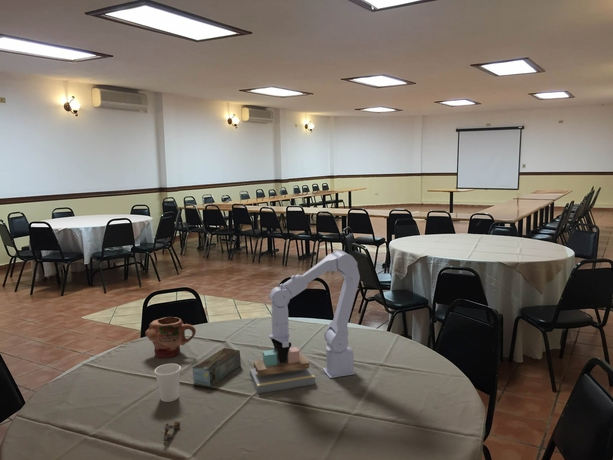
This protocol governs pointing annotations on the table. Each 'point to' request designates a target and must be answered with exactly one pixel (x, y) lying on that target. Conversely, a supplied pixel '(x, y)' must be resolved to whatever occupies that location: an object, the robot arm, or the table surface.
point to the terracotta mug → (168, 336)
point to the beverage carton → (216, 366)
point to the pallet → (280, 366)
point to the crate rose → (293, 355)
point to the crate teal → (269, 358)
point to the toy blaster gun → (167, 427)
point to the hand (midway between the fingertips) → (281, 359)
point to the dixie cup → (168, 381)
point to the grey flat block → (282, 380)
